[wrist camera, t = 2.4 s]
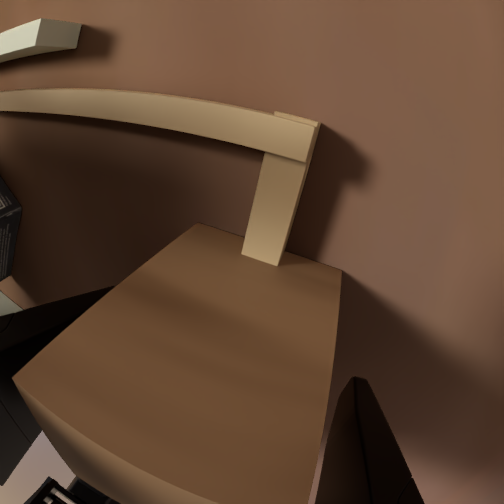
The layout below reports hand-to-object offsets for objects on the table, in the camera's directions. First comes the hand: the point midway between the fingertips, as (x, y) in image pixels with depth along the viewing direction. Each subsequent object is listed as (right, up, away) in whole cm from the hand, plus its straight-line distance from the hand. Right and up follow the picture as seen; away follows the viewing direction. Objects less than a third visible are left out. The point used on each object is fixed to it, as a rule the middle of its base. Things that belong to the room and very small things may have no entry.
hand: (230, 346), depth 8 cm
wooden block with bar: (-11, +5, +4) cm, 13 cm away
